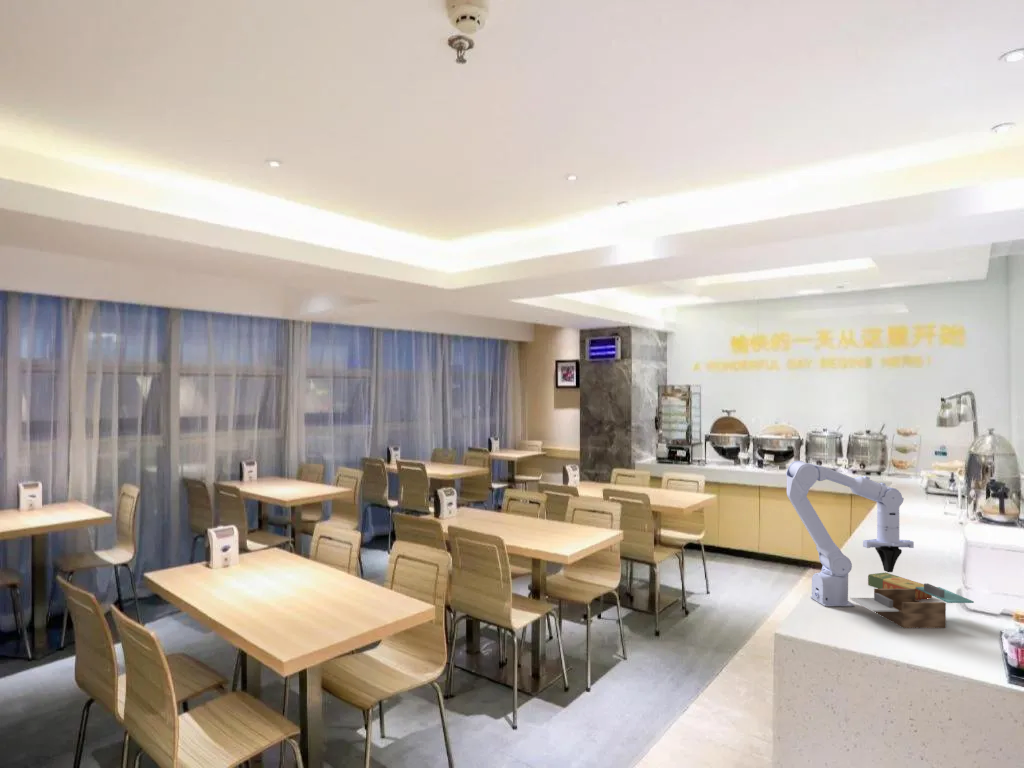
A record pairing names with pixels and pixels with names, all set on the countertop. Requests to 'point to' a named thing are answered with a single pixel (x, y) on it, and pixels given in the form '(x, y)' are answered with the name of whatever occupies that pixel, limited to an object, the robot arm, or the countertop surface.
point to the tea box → (913, 610)
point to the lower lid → (876, 603)
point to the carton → (896, 584)
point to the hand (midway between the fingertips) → (888, 571)
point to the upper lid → (943, 594)
